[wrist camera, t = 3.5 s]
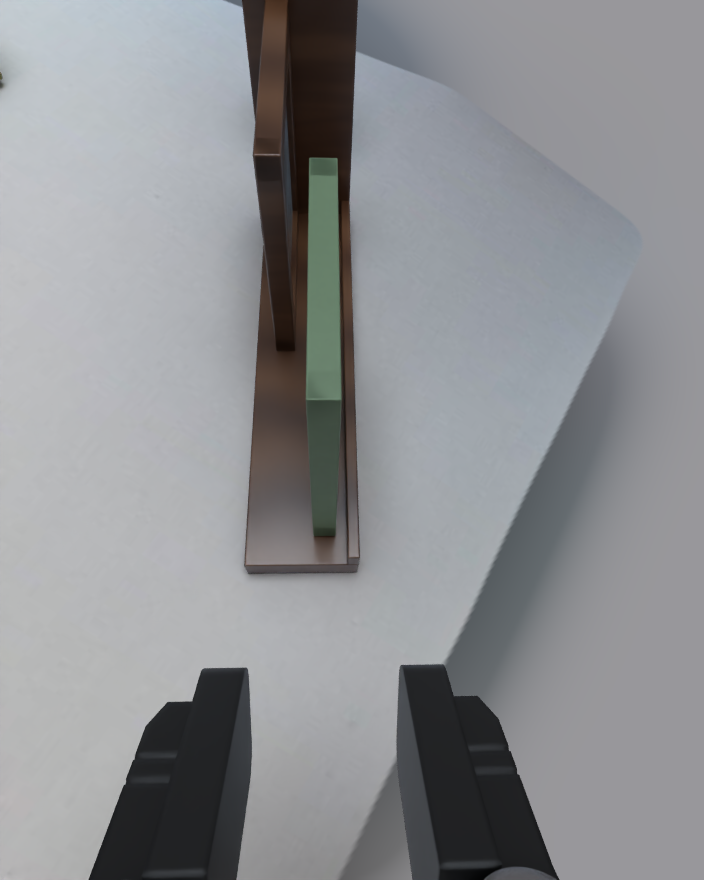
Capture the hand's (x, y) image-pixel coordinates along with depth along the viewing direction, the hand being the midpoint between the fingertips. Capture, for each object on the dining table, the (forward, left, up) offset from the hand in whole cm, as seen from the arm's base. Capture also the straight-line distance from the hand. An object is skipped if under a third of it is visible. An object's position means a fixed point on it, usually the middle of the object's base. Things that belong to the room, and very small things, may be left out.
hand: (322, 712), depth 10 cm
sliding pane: (-11, -11, -20) cm, 26 cm away
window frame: (-14, -17, -22) cm, 31 cm away
